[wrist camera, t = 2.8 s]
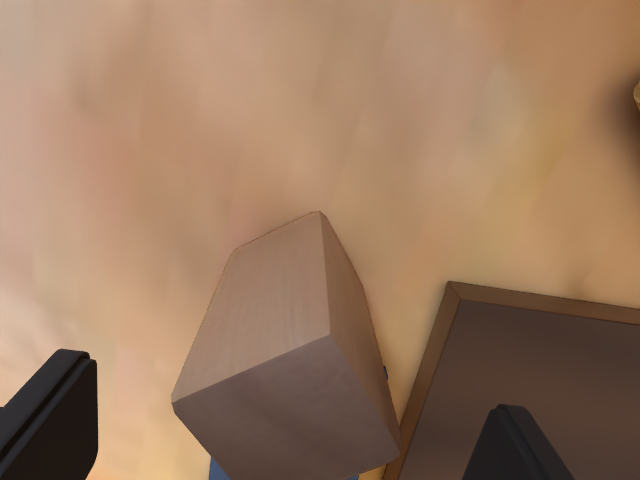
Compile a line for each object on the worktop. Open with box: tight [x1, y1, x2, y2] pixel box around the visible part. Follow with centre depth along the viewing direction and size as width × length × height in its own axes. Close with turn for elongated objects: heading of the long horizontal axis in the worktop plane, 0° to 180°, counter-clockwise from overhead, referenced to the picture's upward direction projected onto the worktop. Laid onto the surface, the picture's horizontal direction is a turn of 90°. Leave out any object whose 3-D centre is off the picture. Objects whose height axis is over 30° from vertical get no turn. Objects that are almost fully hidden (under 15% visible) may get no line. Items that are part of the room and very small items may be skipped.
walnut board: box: [383, 281, 640, 480], centre depth 20 cm, size 15×20×2 cm
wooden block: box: [171, 211, 402, 480], centre depth 12 cm, size 4×4×8 cm
